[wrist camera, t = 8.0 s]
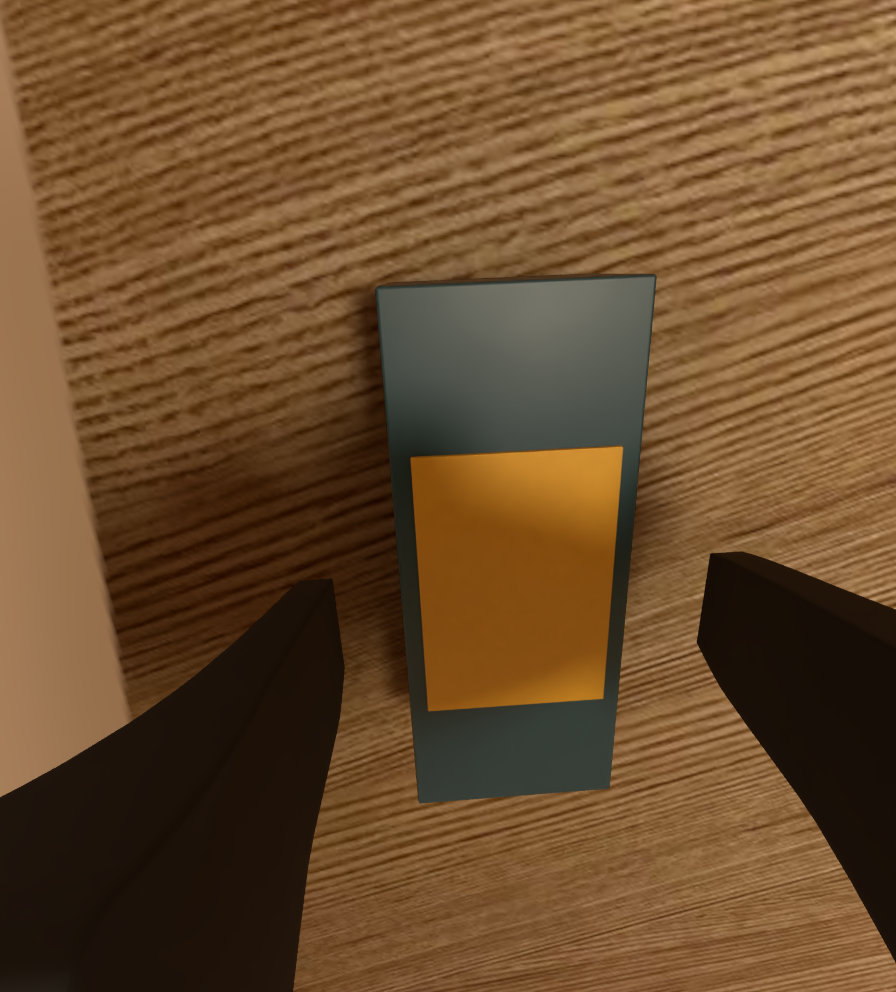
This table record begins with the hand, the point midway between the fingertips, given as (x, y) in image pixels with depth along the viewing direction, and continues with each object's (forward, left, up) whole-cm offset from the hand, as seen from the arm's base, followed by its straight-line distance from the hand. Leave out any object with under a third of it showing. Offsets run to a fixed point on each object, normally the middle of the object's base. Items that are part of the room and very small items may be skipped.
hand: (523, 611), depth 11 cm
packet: (0, 0, -5) cm, 5 cm away
